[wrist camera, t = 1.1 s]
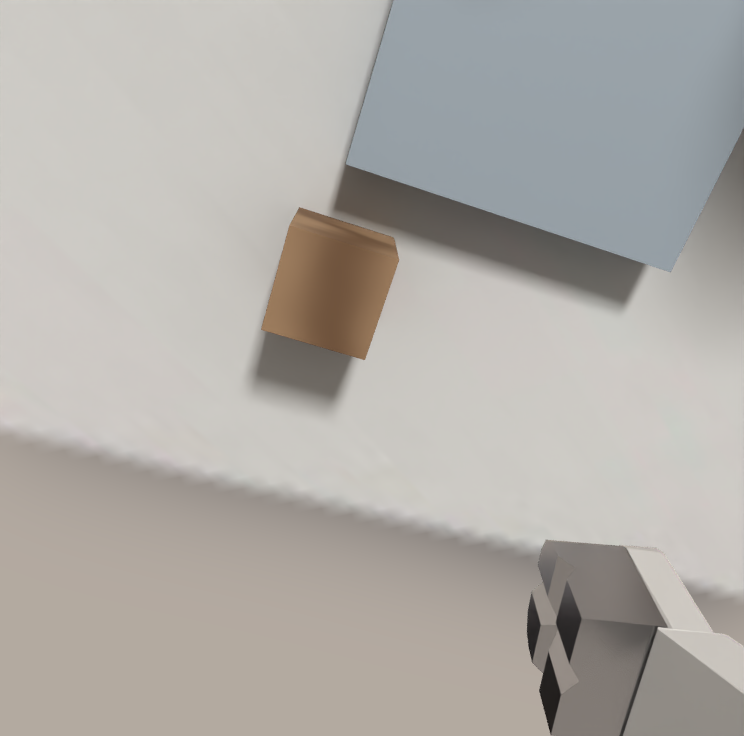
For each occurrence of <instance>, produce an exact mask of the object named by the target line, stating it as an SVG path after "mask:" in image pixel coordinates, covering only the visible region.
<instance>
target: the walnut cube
mask: <svg viewBox="0 0 744 736" xmlns="http://www.w3.org/2000/svg"><path fill="white" fill-rule="evenodd" d="M398 262H399V257H398V253H397V249H396V245H395V240H394V238H393V237H390V236H387V235H384V234H381V233H378V232H375V231H371V230H368V229H365V228H362V227H359V226H356V225H353V224H350V223H347V222H343V221H340V220H337V219H334V218H331V217H328V216H325V215H322V214H319V213H315V212H312V211H309V210H306V209H303V208H300V207H299V209H298V211H297V213H296V215H295V216H294V218H293V220H292V222H291V224H290V225H289V229H288V233H287V236H286V240H285V244H284V248H283V251H282V255H281V259H280V262H279V266H278V270H277V273H276V277H275V281H274V284H273V288H272V292H271V295H270V299H269V303H268V306H267V310H266V314H265V317H264V321H263V325H262V328H261V330H264V331H267V332H271V333H274V334H278V335H281V336H285V337H288V338H291V339H295V340H298V341H302V342H305V343H308V344H312V345H315V346H319V347H322V348H325V349H329V350H332V351H336V352H339V353H343V354H346V355H349V356H353V357H356V358H360V359H363V360H365V358H366V355H367V352H368V349H369V346H370V343H371V341H372V338H373V335H374V332H375V329H376V326H377V323H378V320H379V317H380V314H381V311H382V308H383V306H384V303H385V300H386V297H387V294H388V291H389V288H390V285H391V282H392V279H393V276H394V273H395V270H396V268H397V265H398Z"/></svg>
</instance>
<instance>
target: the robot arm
mask: <svg viewBox="0 0 744 736" xmlns="http://www.w3.org/2000/svg"><path fill="white" fill-rule="evenodd" d="M538 567H539V570H540V574H541V577H542V580H543V582H542V583H541V584H540V585H538V586H537V587H536V588H535V589H534V590H532V592H531V597H530V602H529V608H528V616H527V617H528V618H527V637H528V646H529V651H530V655H531V659H532V663H533V664H534V665H535V666H536V667H537V668H538V669H539V670H540V671H541V672H542V673H543V676H542V681H541V685H540V689H539V692H540V696H541V699H542V704H543V707H544V711H545V715H546V719H547V723H548V726H549V730H550V734H551V735H552V736H744V646H743V645H741V644H739V643H738V642H737V641H735V640H734V639H732V638H731V637H729V636H728V635H726V634H717V633H714V632H713V631H712V629H711V628H710V626H709V624H708V623H707V621H706V619H705V618H704V616H703V615H702V613H701V612H700V610H699V608H698V607H697V605H696V604H695V602H694V600H693V599H692V597H691V596H690V594H689V592H688V591H687V589H686V588H685V586H684V584H683V583H682V581H681V580H680V578H679V576H678V575H677V573H676V572H675V570H674V568H673V567H672V565H671V564H670V562H669V561H668V559H667V557H666V556H665V554H664V553H663V552H662V551H660V550H659V549H657V548H653V547H638V546H623V545H619V546H615V545H603V544H591V543H579V542H567V541H555V540H546V541H545V543H544V545H543V547H542V549H541V553H540V557H539V561H538Z"/></svg>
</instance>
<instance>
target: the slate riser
mask: <svg viewBox="0 0 744 736" xmlns="http://www.w3.org/2000/svg"><path fill="white" fill-rule="evenodd" d="M743 128H744V0H393V3H392V7H391V10H390V14H389V17H388V21H387V24H386V27H385V31H384V34H383V38H382V41H381V44H380V48H379V51H378V55H377V58H376V61H375V65H374V68H373V72H372V75H371V79H370V82H369V85H368V89H367V92H366V96H365V99H364V102H363V106H362V109H361V113H360V116H359V119H358V123H357V126H356V130H355V133H354V137H353V140H352V143H351V147H350V150H349V154H348V157H347V161H346V165H349V166H352V167H355V168H358V169H361V170H364V171H367V172H370V173H373V174H376V175H379V176H382V177H386V178H389V179H392V180H395V181H398V182H401V183H404V184H407V185H410V186H413V187H416V188H419V189H422V190H425V191H428V192H431V193H434V194H437V195H440V196H443V197H446V198H449V199H452V200H455V201H458V202H461V203H464V204H467V205H470V206H473V207H476V208H479V209H482V210H485V211H488V212H491V213H494V214H497V215H500V216H503V217H506V218H509V219H512V220H515V221H518V222H521V223H524V224H527V225H530V226H533V227H536V228H539V229H542V230H545V231H548V232H551V233H554V234H557V235H560V236H563V237H566V238H569V239H572V240H575V241H578V242H581V243H584V244H587V245H590V246H593V247H596V248H599V249H602V250H605V251H608V252H611V253H614V254H617V255H620V256H623V257H626V258H629V259H632V260H635V261H638V262H641V263H644V264H647V265H650V266H653V267H656V268H659V269H662V270H665V271H668V272H671V271H672V269H673V267H674V265H675V263H676V261H677V259H678V257H679V255H680V253H681V251H682V249H683V247H684V245H685V243H686V241H687V239H688V237H689V235H690V233H691V231H692V229H693V227H694V225H695V223H696V221H697V219H698V217H699V215H700V213H701V211H702V209H703V207H704V205H705V203H706V201H707V199H708V197H709V195H710V194H711V192H712V190H713V188H714V186H715V184H716V182H717V180H718V178H719V176H720V174H721V172H722V170H723V168H724V166H725V164H726V162H727V160H728V158H729V156H730V154H731V152H732V150H733V148H734V146H735V144H736V142H737V140H738V138H739V136H740V134H741V132H742V130H743Z"/></svg>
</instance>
